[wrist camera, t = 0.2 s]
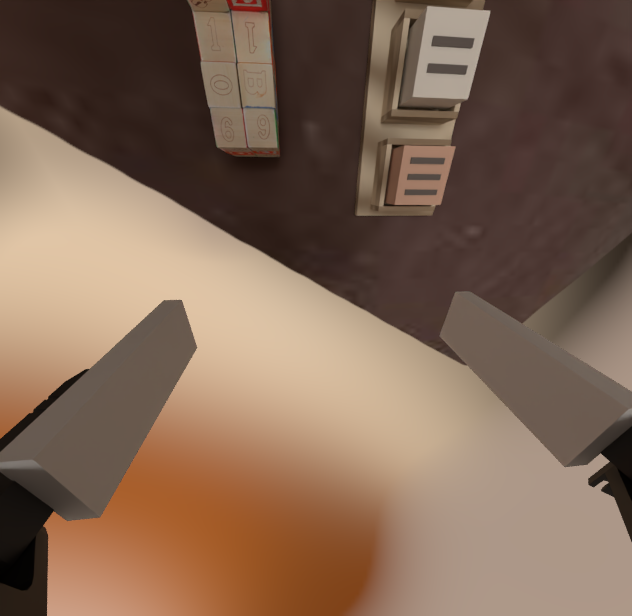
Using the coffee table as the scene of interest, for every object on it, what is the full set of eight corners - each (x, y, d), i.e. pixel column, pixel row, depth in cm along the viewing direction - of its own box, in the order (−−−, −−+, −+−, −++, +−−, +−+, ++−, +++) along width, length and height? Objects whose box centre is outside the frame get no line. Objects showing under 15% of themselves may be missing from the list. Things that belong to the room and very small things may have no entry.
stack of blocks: (281, 158, 31) (276, 145, 20) (235, 157, 30) (203, 144, 19) (264, -128, 20) (233, -481, 9) (192, -136, 20) (71, -520, 9)
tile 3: (392, 149, 28) (405, 144, 24) (437, 150, 28) (456, 146, 25) (384, 202, 31) (395, 205, 27) (426, 202, 31) (441, 205, 28)
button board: (384, -143, 20) (410, -232, 16) (507, -126, 21) (562, -205, 17) (354, 214, 35) (363, 219, 31) (427, 214, 36) (445, 218, 32)
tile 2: (409, 29, 23) (428, 4, 19) (464, 33, 23) (492, 9, 20) (398, 107, 26) (413, 96, 22) (447, 108, 26) (469, 98, 23)
